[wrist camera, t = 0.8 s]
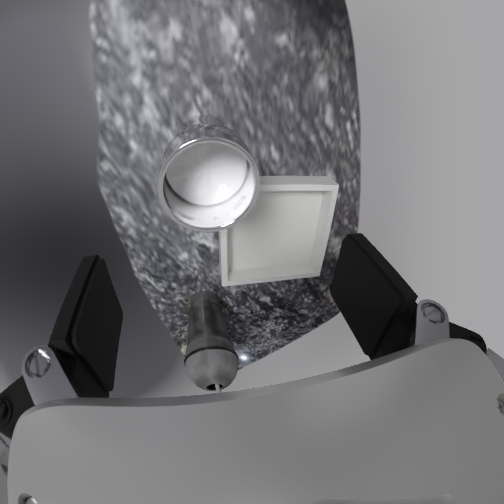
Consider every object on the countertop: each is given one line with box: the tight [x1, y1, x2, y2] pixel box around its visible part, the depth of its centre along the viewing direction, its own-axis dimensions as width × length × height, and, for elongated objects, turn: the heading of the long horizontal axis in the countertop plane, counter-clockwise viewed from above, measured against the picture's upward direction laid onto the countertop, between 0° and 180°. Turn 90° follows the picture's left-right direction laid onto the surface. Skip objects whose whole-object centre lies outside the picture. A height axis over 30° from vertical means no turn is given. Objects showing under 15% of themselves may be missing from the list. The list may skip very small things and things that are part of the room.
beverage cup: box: [184, 291, 238, 393], centre depth 35 cm, size 7×7×20 cm
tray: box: [218, 176, 339, 286], centre depth 36 cm, size 15×15×3 cm
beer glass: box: [158, 115, 260, 232], centre depth 22 cm, size 7×7×15 cm
